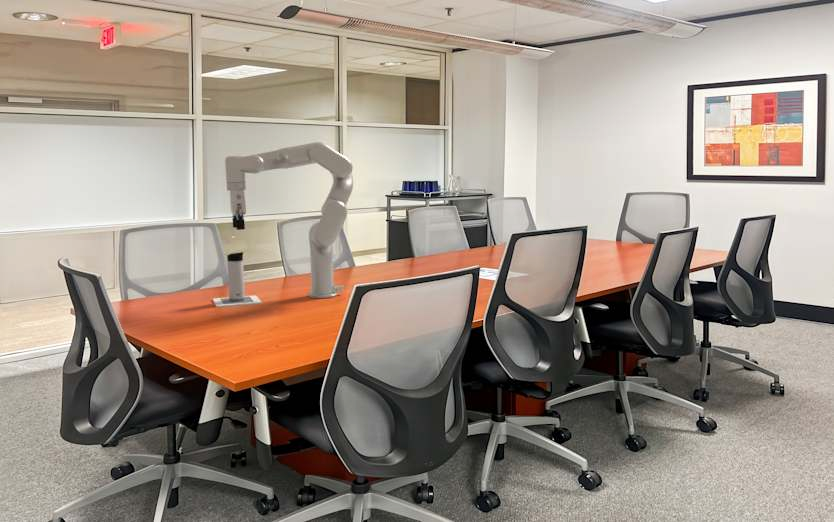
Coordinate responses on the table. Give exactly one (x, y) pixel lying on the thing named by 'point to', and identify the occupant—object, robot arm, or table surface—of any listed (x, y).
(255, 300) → the card
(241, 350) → the table surface
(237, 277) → the travel mug
